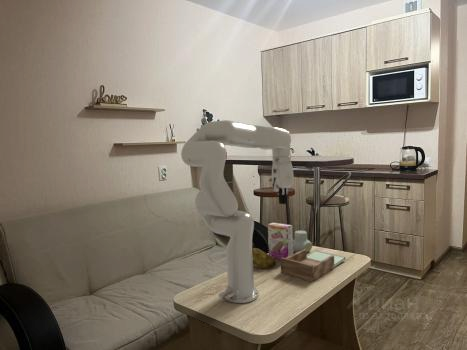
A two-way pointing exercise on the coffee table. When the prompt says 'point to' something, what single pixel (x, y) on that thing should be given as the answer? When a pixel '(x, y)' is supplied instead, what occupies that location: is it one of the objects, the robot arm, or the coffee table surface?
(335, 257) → the panel
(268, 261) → the potato
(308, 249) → the air freshener
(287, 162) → the robot arm
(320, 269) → the brown wooden tray
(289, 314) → the coffee table surface
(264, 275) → the coffee table surface
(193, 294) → the coffee table surface
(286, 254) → the candy bar box
